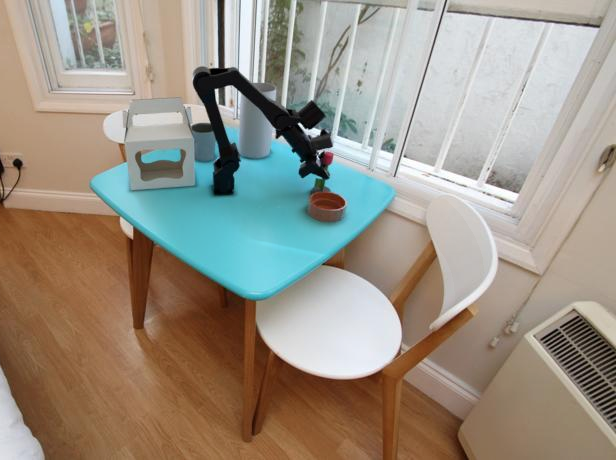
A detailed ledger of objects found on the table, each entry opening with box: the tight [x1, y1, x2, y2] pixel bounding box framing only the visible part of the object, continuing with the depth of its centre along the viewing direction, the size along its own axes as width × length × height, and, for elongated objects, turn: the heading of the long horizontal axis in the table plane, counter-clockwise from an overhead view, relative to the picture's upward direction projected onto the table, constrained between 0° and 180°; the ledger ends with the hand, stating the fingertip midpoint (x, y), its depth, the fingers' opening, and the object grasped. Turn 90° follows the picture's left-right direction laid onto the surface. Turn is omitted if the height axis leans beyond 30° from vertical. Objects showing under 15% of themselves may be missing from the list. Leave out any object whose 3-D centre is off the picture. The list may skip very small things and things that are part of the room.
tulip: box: [311, 151, 335, 194], centre depth 118 cm, size 6×6×14 cm
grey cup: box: [191, 122, 217, 163], centre depth 143 cm, size 10×10×12 cm
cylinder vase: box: [237, 82, 277, 160], centre depth 141 cm, size 12×12×25 cm
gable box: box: [122, 96, 196, 191], centre depth 124 cm, size 22×13×28 cm, turn 96°
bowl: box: [306, 191, 348, 223], centre depth 112 cm, size 11×11×4 cm
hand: (328, 177), depth 118 cm, fingers closed on tulip
